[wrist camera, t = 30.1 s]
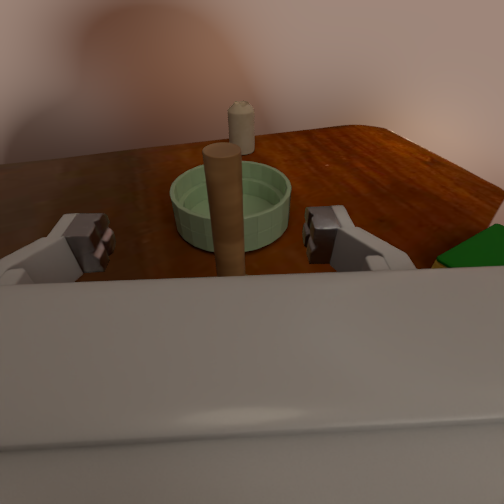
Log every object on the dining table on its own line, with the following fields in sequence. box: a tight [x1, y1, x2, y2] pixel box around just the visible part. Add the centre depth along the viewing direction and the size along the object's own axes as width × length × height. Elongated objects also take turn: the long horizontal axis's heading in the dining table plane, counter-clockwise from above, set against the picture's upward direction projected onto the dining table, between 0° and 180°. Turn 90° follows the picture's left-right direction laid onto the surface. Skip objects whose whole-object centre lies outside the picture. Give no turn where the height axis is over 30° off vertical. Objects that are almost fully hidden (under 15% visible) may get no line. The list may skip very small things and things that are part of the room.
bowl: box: [170, 161, 292, 252], centre depth 46 cm, size 17×17×6 cm
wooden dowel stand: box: [202, 143, 248, 277], centre depth 28 cm, size 6×6×18 cm
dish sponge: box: [431, 224, 504, 269], centre depth 38 cm, size 7×14×2 cm, turn 121°
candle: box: [228, 101, 254, 155], centre depth 65 cm, size 6×6×10 cm
